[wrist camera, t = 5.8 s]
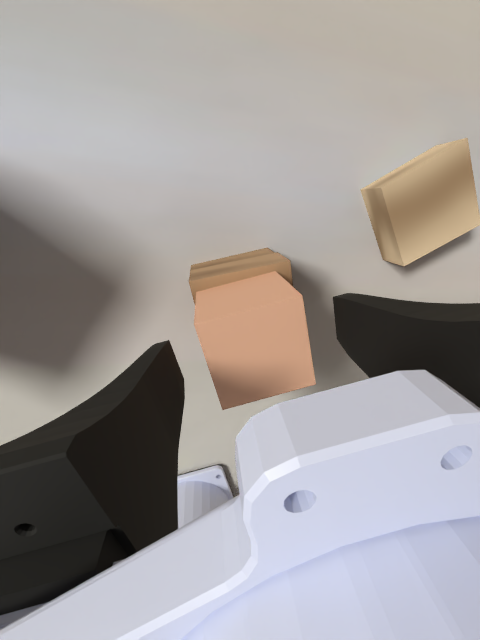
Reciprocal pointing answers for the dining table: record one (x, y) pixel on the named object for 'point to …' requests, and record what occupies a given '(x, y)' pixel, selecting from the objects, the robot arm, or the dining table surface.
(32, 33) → the dining table surface
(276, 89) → the dining table surface
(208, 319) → the terracotta cube
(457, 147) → the slab
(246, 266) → the tower top
